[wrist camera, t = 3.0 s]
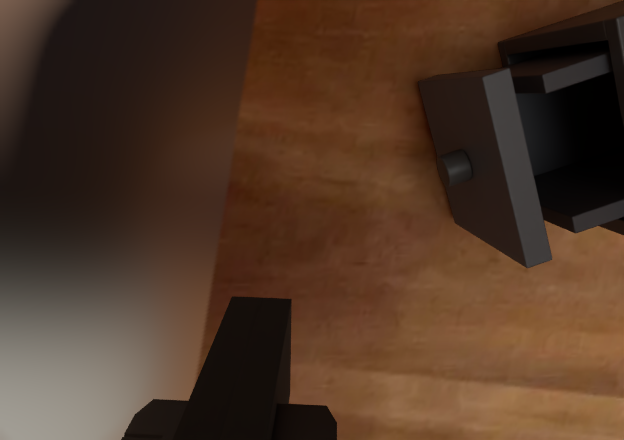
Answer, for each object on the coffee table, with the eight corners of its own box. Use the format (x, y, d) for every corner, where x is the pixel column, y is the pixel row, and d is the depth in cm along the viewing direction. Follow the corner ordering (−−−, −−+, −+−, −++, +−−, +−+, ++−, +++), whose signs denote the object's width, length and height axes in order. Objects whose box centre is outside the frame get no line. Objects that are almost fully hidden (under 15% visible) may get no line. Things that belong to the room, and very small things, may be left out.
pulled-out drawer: (435, 230, 33) (501, 278, 24) (396, 88, 31) (453, 86, 22) (638, 160, 33) (773, 183, 25) (613, 16, 31) (750, -13, 23)
